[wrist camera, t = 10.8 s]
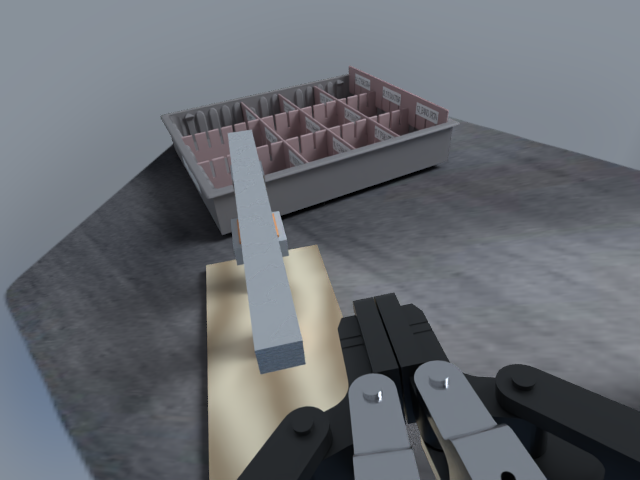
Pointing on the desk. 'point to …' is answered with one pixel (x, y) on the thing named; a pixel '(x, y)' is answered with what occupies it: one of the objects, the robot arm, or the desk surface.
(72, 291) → the desk surface
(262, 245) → the bar
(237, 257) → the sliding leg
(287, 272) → the board
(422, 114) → the organizer tray
